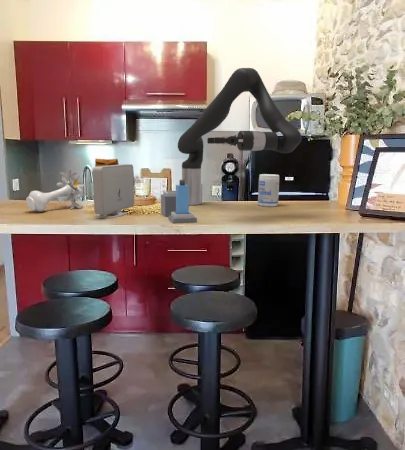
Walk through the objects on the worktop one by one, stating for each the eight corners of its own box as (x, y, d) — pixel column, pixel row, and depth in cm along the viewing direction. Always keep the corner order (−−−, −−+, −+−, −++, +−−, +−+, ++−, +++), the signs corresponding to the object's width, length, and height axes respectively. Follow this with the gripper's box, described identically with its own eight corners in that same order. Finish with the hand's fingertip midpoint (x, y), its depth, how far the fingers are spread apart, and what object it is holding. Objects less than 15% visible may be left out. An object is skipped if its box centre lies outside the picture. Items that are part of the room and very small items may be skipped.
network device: (108, 219, 165) (106, 167, 161) (88, 218, 167) (86, 166, 164) (139, 210, 188) (138, 164, 185) (121, 209, 191) (120, 164, 187)
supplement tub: (255, 206, 203) (256, 175, 200) (260, 203, 211) (261, 173, 209) (276, 207, 199) (277, 175, 197) (280, 204, 208) (281, 174, 205)
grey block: (161, 213, 181) (160, 190, 179) (181, 212, 183) (181, 190, 181) (165, 216, 172) (164, 193, 170) (187, 215, 175) (187, 192, 173)
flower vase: (42, 229, 181) (91, 207, 197) (33, 188, 172) (85, 170, 188) (26, 220, 189) (75, 200, 205) (16, 181, 180) (68, 163, 196)
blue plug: (176, 216, 165) (175, 179, 162) (186, 215, 166) (186, 179, 163) (178, 217, 161) (178, 180, 158) (188, 217, 162) (188, 180, 159)
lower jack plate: (168, 219, 166) (168, 211, 166) (190, 218, 169) (190, 210, 168) (173, 223, 158) (173, 215, 157) (196, 222, 160) (196, 214, 160)
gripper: (244, 131, 171) (205, 130, 167) (258, 130, 158) (216, 129, 154) (244, 150, 173) (205, 150, 168) (258, 151, 159) (216, 151, 155)
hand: (210, 140), depth 161 cm, fingers open, 8 cm apart
